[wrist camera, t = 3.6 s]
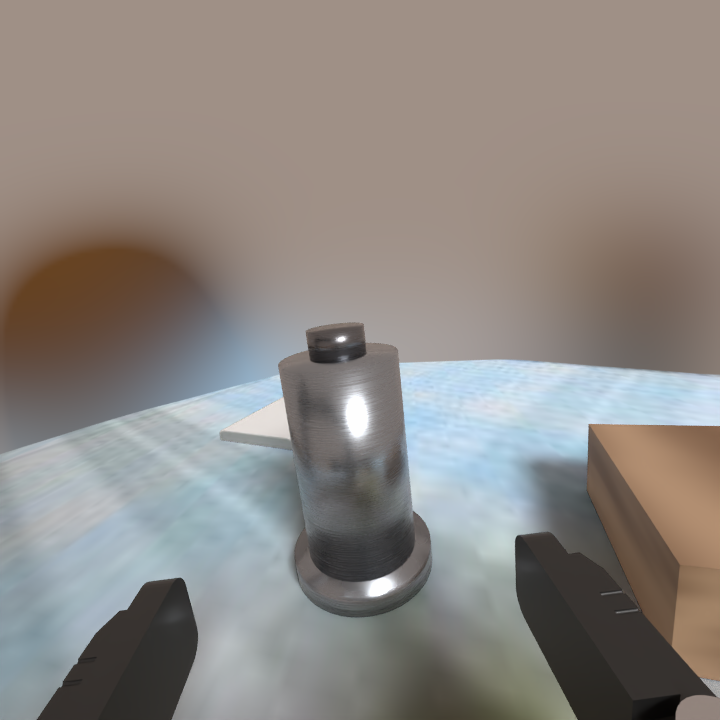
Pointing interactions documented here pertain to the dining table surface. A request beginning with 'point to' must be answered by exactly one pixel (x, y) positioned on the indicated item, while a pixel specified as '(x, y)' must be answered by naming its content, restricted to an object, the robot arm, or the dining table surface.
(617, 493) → the stand
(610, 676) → the robot arm
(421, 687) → the dining table surface
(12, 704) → the dining table surface
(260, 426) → the external hard drive
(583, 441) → the dining table surface
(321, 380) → the cylinder
